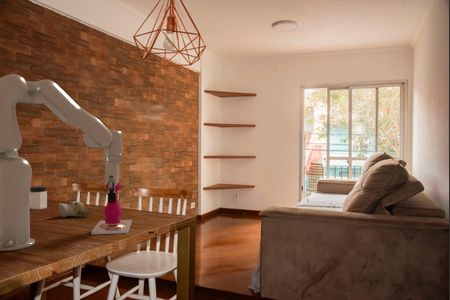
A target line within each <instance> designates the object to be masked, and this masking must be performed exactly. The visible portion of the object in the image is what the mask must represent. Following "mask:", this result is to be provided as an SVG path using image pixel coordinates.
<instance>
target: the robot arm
mask: <svg viewBox="0 0 450 300" xmlns="http://www.w3.org/2000/svg"><path fill="white" fill-rule="evenodd" d="M17 103H20V104H21V103H22V104H33V105H34V104H39V105H41V104H42V105H44V106H46V107H47V108H48V109H49V110H50V111H51V112H52V113H53V114H54V115H55V116H56V117H57V118H58V119H59V120H60V121H62V122H63V123H65V124H66V125H67V124H68V125H69V126H73V127H75V128H77V129H79V130H80V131H82V132H83V133H84V134H83V138H82V140H83V142H84V144H85V145H86V146H88V147H90V148H101V149H102V148H103V163H105V170H104V186H105V187H106V185H108V190H107V191H108V195H107V202H108V203H115V202H116V193H115V186H116V185H117V183H118V182H119V183H120V164H121V163H123V132H122V131H120V130H109V128H108V127H107V126H105V125H104V123H102V122H101V120H100V119H98V118H97V117H96V116H94V115H93V114H91V113H90V112H88V111H87V110H85V109H84V108H82V107H81V106H80V105H78V104H77V103H76V102H75V101H74V100H73V99H72V98H71V96H69V95H68V94H67V93H66V92H65V91H64V90H63V88H61V87H60V85H59V84H57V83H56V82H54V81H53V80H52V79H47V78H46V79H41V80H37V81H28V80H26V79H25V78H24V77H23V76H21V75H18V74H15V73H11V74H6V75H4V76H2V77H0V252H3V251H4V252H5V251H6V252H7V251H17V250H22V249H26V248H30V247H32V246H33V245H35V244H36V242H35V241H36V239H34V238H31V209H30V187H31V183H32V176H33V170H32V166H31V164H30V162H29V161H28V160H27V159H25V158H23V157H21V156H19V153H18V150H19V149H21V147H22V145H23V139H22V134H21V131H20V127H19V124H18V122H19V121H18V120H17V119H18V118H17V113H16V112H17V111H16V105H17ZM108 182H109V184H108ZM113 184H114V186H112V185H113ZM113 187H114V188H113Z"/></svg>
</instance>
